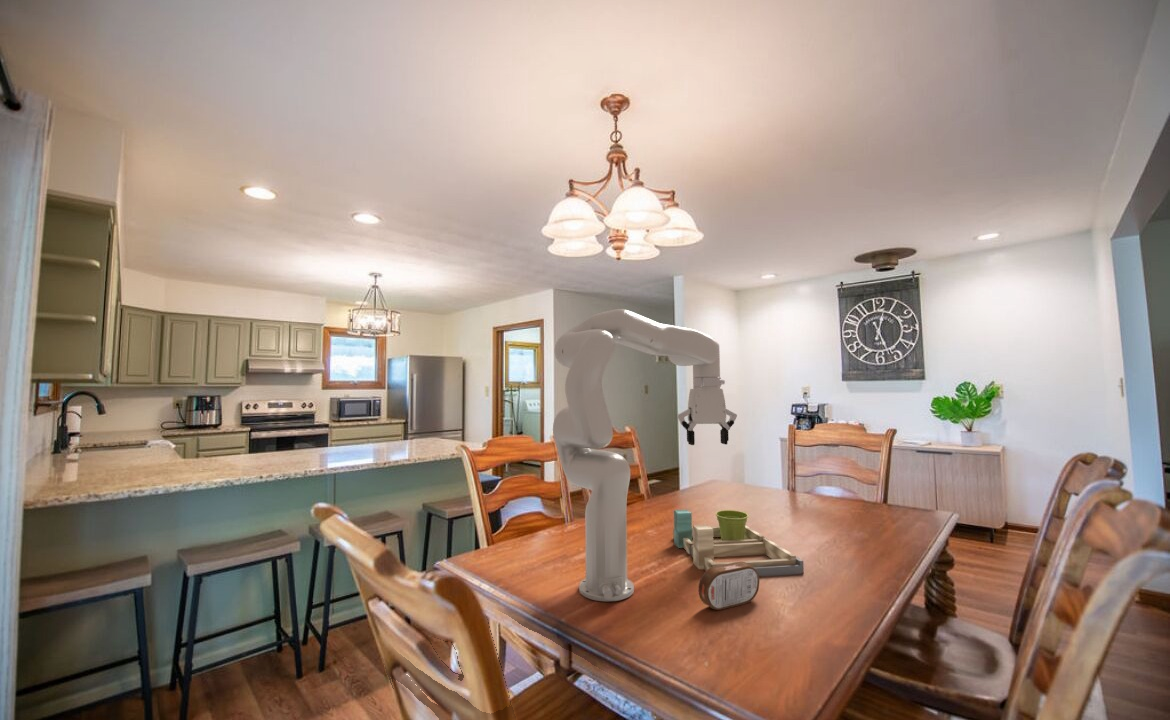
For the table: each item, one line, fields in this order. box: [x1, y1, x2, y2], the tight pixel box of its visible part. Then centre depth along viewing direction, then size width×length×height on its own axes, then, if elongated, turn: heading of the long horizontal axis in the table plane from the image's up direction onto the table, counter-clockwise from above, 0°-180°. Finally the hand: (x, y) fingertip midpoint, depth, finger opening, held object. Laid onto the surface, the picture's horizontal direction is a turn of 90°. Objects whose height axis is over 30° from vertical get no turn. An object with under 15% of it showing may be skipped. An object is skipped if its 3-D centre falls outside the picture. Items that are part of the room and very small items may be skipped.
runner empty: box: [691, 524, 797, 572], centre depth 126 cm, size 14×23×10 cm, turn 97°
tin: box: [698, 560, 760, 611], centre depth 102 cm, size 15×3×8 cm, turn 115°
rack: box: [690, 536, 805, 577], centre depth 133 cm, size 32×23×3 cm
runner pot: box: [672, 509, 765, 555], centre depth 142 cm, size 14×23×10 cm, turn 97°
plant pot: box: [714, 509, 749, 541], centre depth 142 cm, size 9×9×9 cm
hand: (707, 444), depth 136 cm, fingers open, 9 cm apart
